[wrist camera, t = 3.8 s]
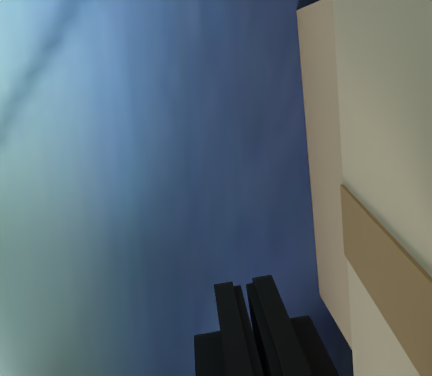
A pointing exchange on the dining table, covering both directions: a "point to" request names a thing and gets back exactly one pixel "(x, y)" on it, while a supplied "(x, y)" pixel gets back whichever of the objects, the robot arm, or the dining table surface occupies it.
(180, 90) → the dining table surface
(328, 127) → the carton
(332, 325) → the dining table surface
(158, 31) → the dining table surface
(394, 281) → the lid
